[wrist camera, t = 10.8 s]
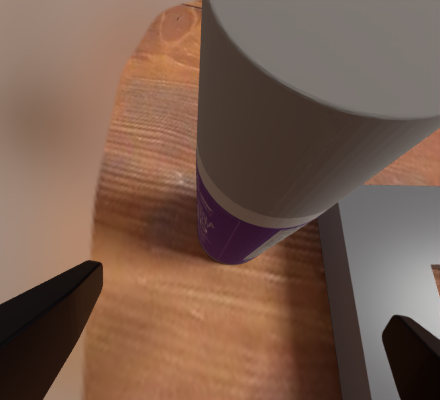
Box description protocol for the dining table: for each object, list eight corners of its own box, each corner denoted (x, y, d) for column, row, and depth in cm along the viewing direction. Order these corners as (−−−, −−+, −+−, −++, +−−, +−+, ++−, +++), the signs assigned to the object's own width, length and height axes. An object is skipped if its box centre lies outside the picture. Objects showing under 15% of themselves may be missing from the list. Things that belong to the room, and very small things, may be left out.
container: (182, 224, 18) (123, -48, 4) (235, 184, 19) (341, -133, 5) (228, 281, 17) (389, 208, 3) (280, 234, 18) (577, 18, 4)
